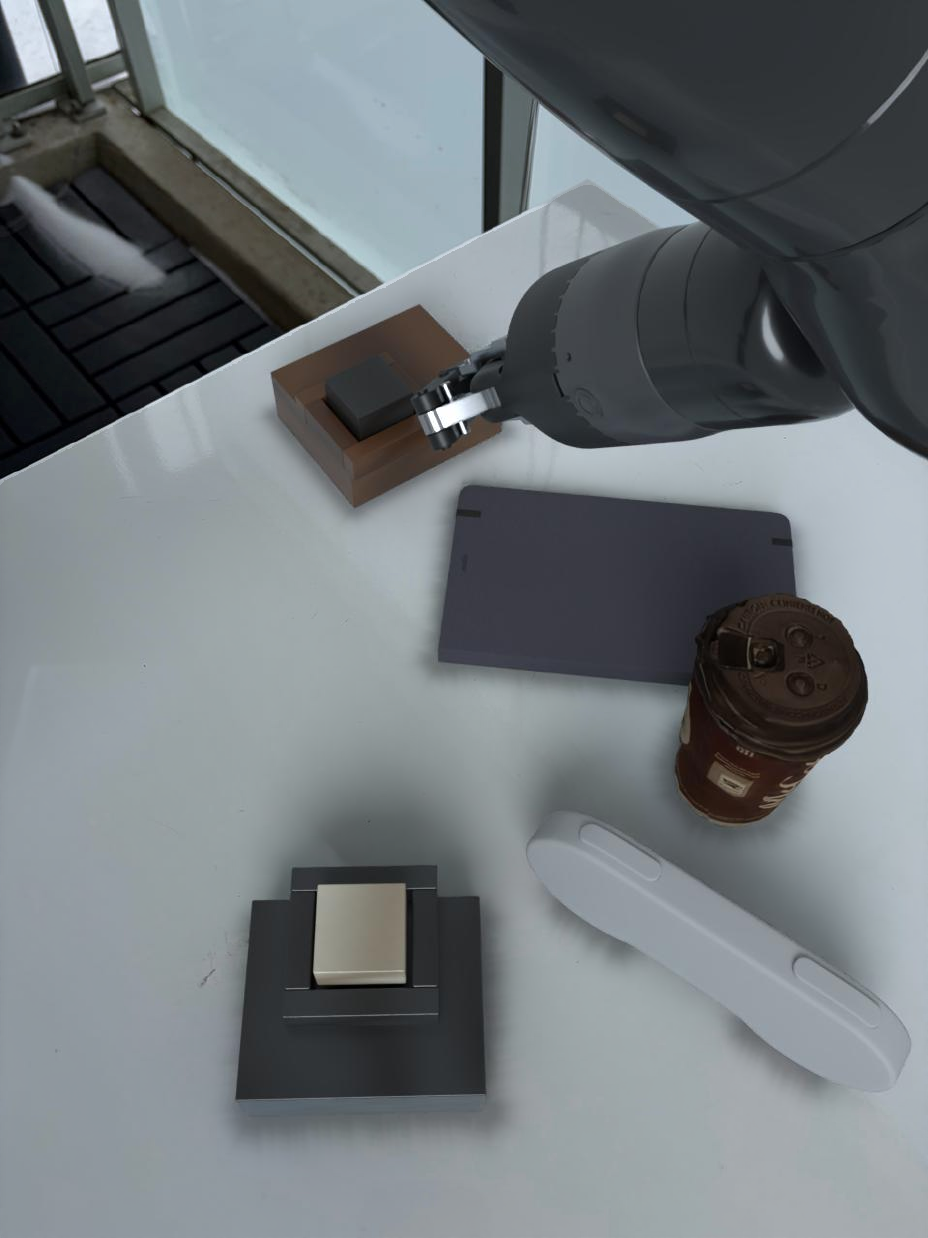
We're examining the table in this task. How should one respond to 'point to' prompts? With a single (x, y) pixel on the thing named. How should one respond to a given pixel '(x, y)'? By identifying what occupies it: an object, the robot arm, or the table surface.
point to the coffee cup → (765, 705)
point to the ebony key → (369, 397)
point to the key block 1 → (396, 451)
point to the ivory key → (360, 934)
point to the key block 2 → (363, 1009)
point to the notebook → (600, 581)
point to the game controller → (721, 951)
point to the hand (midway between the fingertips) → (456, 386)
